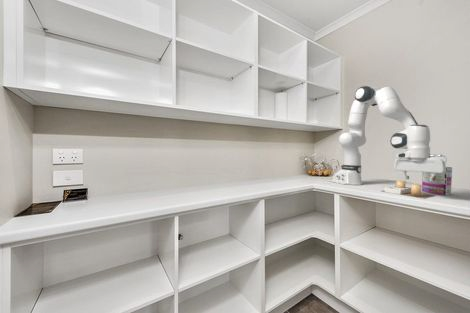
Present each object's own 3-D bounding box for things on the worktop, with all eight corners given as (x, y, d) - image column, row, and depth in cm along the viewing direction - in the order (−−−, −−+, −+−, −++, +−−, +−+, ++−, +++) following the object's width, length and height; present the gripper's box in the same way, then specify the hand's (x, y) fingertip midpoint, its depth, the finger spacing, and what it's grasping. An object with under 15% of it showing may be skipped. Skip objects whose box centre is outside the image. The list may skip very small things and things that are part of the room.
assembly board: (379, 192, 114) (379, 191, 114) (392, 190, 121) (392, 188, 121) (424, 200, 97) (424, 198, 96) (436, 197, 104) (436, 195, 104)
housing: (384, 191, 112) (384, 181, 112) (396, 189, 119) (396, 179, 119) (400, 194, 106) (400, 183, 106) (411, 192, 112) (411, 181, 112)
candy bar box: (451, 196, 106) (453, 167, 106) (445, 197, 105) (446, 167, 105) (427, 192, 117) (428, 165, 117) (421, 192, 116) (422, 165, 116)
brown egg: (409, 195, 104) (409, 184, 104) (412, 194, 106) (413, 183, 106) (419, 196, 100) (419, 185, 100) (422, 196, 102) (422, 184, 102)
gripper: (448, 154, 95) (448, 182, 95) (397, 154, 112) (397, 177, 113) (444, 154, 91) (443, 183, 92) (392, 154, 109) (392, 178, 110)
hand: (417, 180), depth 102 cm, fingers open, 8 cm apart
